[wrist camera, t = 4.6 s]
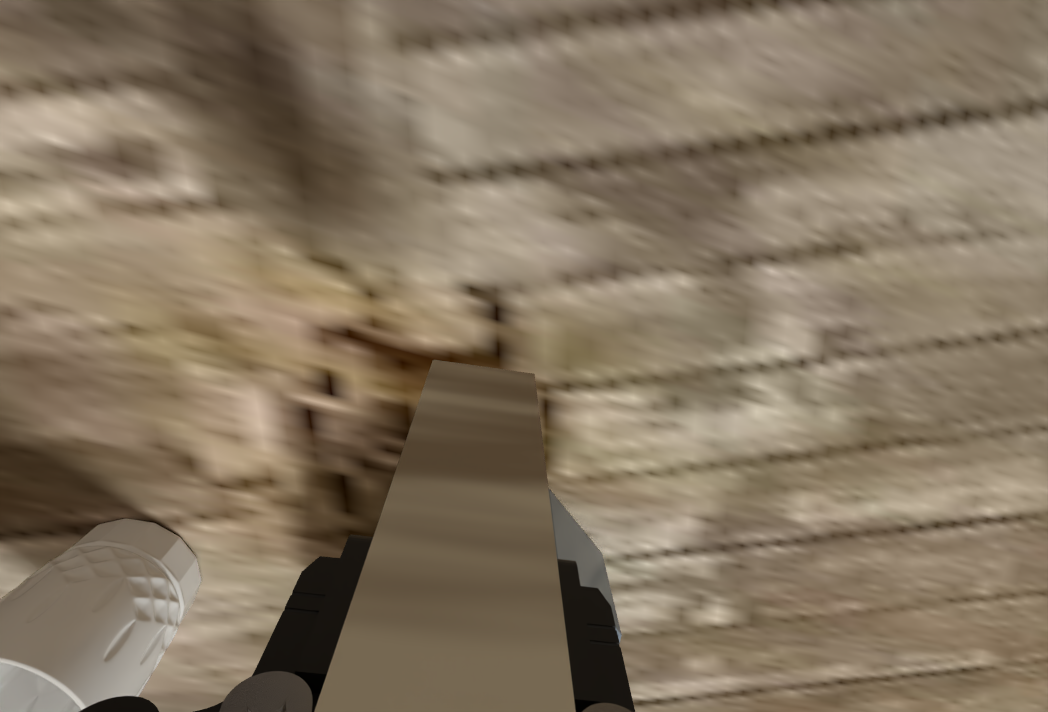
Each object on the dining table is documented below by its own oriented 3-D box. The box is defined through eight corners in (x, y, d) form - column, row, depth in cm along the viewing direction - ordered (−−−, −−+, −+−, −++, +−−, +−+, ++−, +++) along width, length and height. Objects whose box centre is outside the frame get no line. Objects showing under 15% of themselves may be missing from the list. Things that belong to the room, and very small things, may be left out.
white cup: (191, 643, 35) (76, 824, 26) (52, 598, 34) (-123, 771, 25) (230, 538, 33) (119, 694, 24) (83, 486, 32) (-96, 628, 22)
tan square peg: (433, 359, 21) (271, 837, 6) (534, 373, 21) (593, 861, 7) (422, 450, 22) (265, 1026, 8) (518, 462, 22) (540, 1039, 8)
